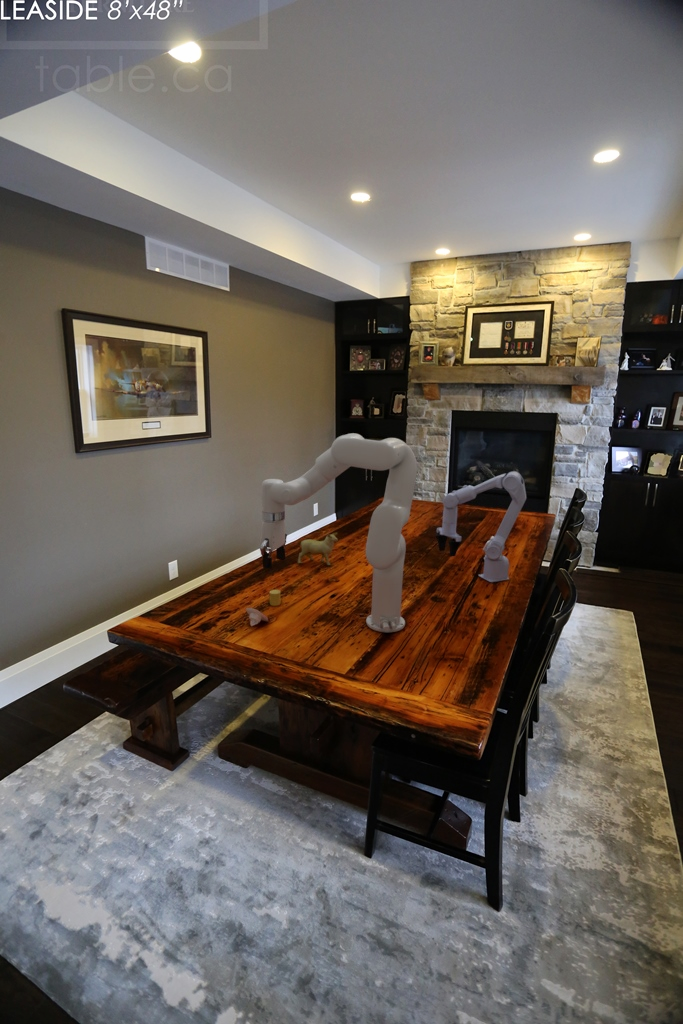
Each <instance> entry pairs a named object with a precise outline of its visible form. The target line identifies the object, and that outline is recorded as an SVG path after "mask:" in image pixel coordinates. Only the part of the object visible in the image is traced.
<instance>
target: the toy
mask: <svg viewBox="0 0 683 1024" xmlns="http://www.w3.org/2000/svg"><path fill="white" fill-rule="evenodd" d="M337 535H338V532H333V533H332V534H330V533H327V534H326V536H325V539H324V540H320V541H319V540H315V539H311V538H309V539H308V538H307V539H304V540H301V542H300V548H301V551H300V552H299V554H298V559H297V564H298V565H302V563H303V562H302V558H303V557H304V556H306V557H307V558H308V559H309V560H310V562H314V558H313V556H312V555H314V556H315V555H316V556H318V555H321V558H320V563H325V561H326V565H327V566H328V567H332V564H331V563H330V561H329V556H330V555H331V553H332V552H333V550H334V545H335V544H334V542H335V543H337V542H338V541H339V538H337V537H336V536H337ZM311 554H312V555H311Z"/></svg>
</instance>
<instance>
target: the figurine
mask: <svg viewBox="0 0 683 1024" xmlns="http://www.w3.org/2000/svg"><path fill="white" fill-rule="evenodd" d="M494 537H495V535H494V536H493V535H492V536H490V539H489V540H487V542H486V543H485V544H484V546H483V548H482V551H483V552H485V550H486V548H487V546H488V545H489V542H490V541H491V540H493V539H494ZM483 560H484V561H485V556H484V557H483Z"/></svg>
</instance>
